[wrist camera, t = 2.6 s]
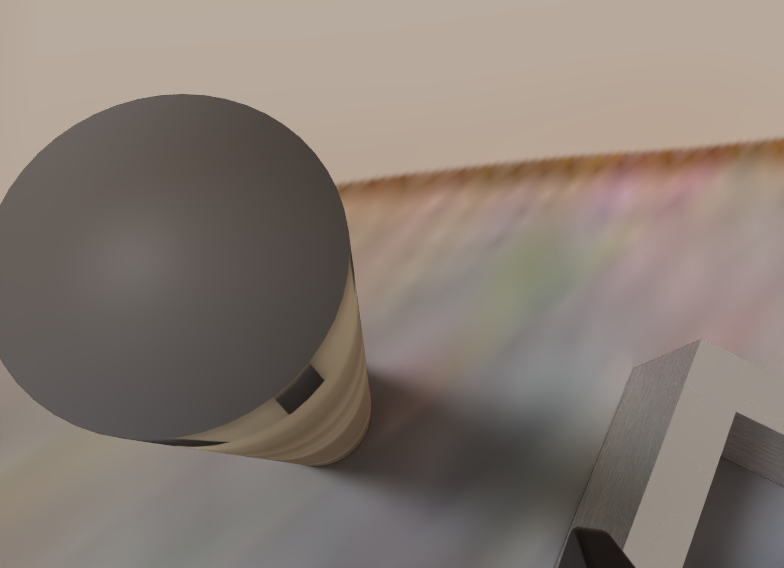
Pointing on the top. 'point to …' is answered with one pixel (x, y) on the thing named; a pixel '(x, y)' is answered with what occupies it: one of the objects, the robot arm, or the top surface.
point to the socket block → (680, 448)
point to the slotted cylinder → (186, 284)
